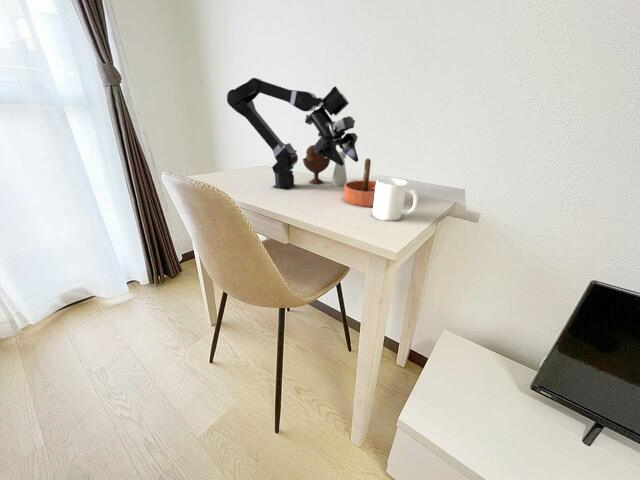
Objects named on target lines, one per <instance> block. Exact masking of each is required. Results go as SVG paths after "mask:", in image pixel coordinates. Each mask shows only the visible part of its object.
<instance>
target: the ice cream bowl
mask: <svg viewBox="0 0 640 480" xmlns="http://www.w3.org/2000/svg"><path fill="white" fill-rule="evenodd" d="M314 145H315V144H311V145H309V146H308V147H307V148H306V152H305V153H306V156H305V157H304V158H302V163H303V165H304V166H305V168H306V170H308V171H310V172H311V173H313V178H312V179H311V180H310V181H309V184H311V185H321V184H322V185H323V183H324V182H323V181H322V179H320V178H319V174H320V173H322V172H323V171H325V170H326V169H327V168H328V167H329V165H330V162H331V160H330V159H328V158H326V157H324V156H321V155H320V154H317V153H316V152H315V150H314Z"/></svg>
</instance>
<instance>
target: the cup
mask: <svg viewBox="0 0 640 480" xmlns="http://www.w3.org/2000/svg"><path fill="white" fill-rule="evenodd" d="M375 182H376V189H375V197H374V206H372V215H373V217H375V218H377V219H378V220H382V221H388V222H389V221H391V222H393V221H398V220H400V219H401V217H402V215H410V214H413V213H414V212H415V211H416V209H417V207H418V201H419V199H418V193H417V191H416V190H415V189H412V188H407V187H408V181H406V180H404V179H402V178H396V177H380V178H378V179H376V181H375ZM406 194H409V195H412V198H413V201H412V202H413V203H412V206H411V208H410V209H405V208H404V205H405V199H406Z"/></svg>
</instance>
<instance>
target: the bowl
mask: <svg viewBox="0 0 640 480" xmlns="http://www.w3.org/2000/svg"><path fill="white" fill-rule="evenodd" d="M362 189H363V179H362V180H351V181H346V183H345V184H344V186H343V197H342V199H343V200H344V201H345V202H346V203H348V204H350V205H353V206H357V207H364V208H366V207H367V208H368V207H370V208H371V207H372V208H373V206H374V197H375V189H376V181H375V180H373V181H372V180H369V184H368V190H371V191H372V192H368V191H358V190H362Z"/></svg>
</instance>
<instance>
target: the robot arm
mask: <svg viewBox="0 0 640 480" xmlns="http://www.w3.org/2000/svg"><path fill="white" fill-rule="evenodd" d="M260 94H263V95H266V96H269V97H271V98H275V99H277V100H281V101H284V102H287V103H288V104H290V105H291V106H293V107H295V108H297V109H298V110H300V111H302V112H311V113H310V114H307V115H305V120H304V123H305V124H307V125H309V126H311V125H312V124H313V125H314V127H315V128H316V130H317V132H318V133H317V135H318V136H317V137H318V140H317V141H316V143H315V144H313V145H314V150H315V152H316V153H317V154H320V155H321V156H324V157H325V158H328V159H330V161H332V162H334V163H335V164H336V163H337V164H339V165H340V166H343V165H344V162H343V160H342V158H341V157H340V155H339V153H338V152H339V150H337V146H338V147H339V148H340V149H341V151H342V152H344V153H345V154H346V156H347V157H349V158H350V159H351V160H352V161H354V162H355V163H358V162H359V157H358V153H357V149H356V143H357V141H358V135H357V134H356V133H355V132H347V131H349V130H350V129H353V128H355V123H356V120H355V119H354V117H352V116H350V115H348V116H345V117H342V118H340V119H338V120H336V121H333V120H332V117H331V116H333V115H334V116H335V117H337V116H338V115H339V114H340V113H341V112H342V111H343V110H344V109H346V107H347V106H348V105H349V104H350V102H349V100H348V99H347V97H346V96H345V95H344V94H343V93H342V92H341V91H340V90H339V88H338V87H337V86H335V85H334V86H333V87H332V88H331V90H330V91H329V92H328V93H327V94H326V96H324V97H317V95H315V94H314V93H313V92H310V91H304V90H294V89H288V88H285V87H282V86H279V85H277V84H273V83H270V82H268V81H264V80H262V79H261V78H257V77H252V78H250V79H249V80H248V81H246V82H245V83H243V84H241V85H238V86H237V87H236V88H235V89H234V88H233V89H230V90H229V91H228V92H227V94H226V102H227V104H228V106H229V107H231V108H232V109H233V110H234V111H235V112H236V113H237V114H239V115H240V116H242V117H243V118H245V119H246V120H247V121H248V122H249V124H250V125H251V126H252V127H253V128H254V130H255V131H256V132H257V133H258V135H259V136H260V137H261V138H262V139H263V140H264V142H265V143H266V144H267V145H268V147H269V148H270V149H271V150H272V153H273V156H274V159H275V161H276V162H275V163H274V165H272V167H271V168H272V171H273V173H274V182H275V184H274V185H273V186H272V187H273V188H277V189H281V190H289V189H291V188H293V187H296V183H295V175H294V171H293V170H294V166H295V165H297V163H298V160H299V156H298V152H297V150H296V149H295V148H294V147H293V145H292V144H291V143H290V142H289V143H284V142H282V140H281V139H280V138H279V137H278V135H277V134H276V133H275V132H274V130H273V129H272V128H271V127H270V125H269V124H268V123H267V121H265V119H264V118H263V117H262V116H261V114H260V113H259V112H258V111H257V109H256V106H255V103H254V100H255V99H256V98H257V97H258V95H260ZM316 108H317V109H316ZM346 132H347V133H346Z"/></svg>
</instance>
